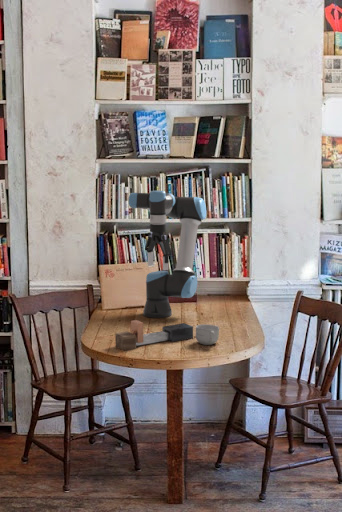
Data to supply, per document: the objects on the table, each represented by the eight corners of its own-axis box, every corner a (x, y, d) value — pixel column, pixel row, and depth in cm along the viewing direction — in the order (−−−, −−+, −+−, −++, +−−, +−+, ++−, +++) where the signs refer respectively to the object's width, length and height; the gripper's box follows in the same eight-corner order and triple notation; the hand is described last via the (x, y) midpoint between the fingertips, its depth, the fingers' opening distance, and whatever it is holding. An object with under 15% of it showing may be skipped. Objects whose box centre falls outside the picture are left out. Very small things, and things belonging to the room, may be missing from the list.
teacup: (194, 340, 344) (194, 323, 343) (217, 339, 345) (217, 323, 344) (197, 348, 331) (198, 331, 329) (222, 348, 332) (222, 331, 330)
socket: (115, 346, 335) (115, 333, 334) (127, 344, 338) (126, 331, 337) (124, 350, 328) (124, 337, 327) (135, 348, 331) (135, 335, 330)
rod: (122, 345, 335) (122, 322, 334) (174, 335, 350) (174, 314, 349) (129, 348, 330) (128, 325, 329) (181, 338, 345) (181, 316, 344)
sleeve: (162, 338, 348) (162, 326, 347) (183, 334, 354) (183, 323, 354) (171, 342, 342) (171, 330, 341) (192, 338, 348) (192, 326, 347)
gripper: (137, 221, 358) (138, 264, 362) (165, 226, 338) (165, 272, 341) (150, 220, 362) (151, 263, 366) (178, 225, 342) (178, 270, 345)
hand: (158, 267), depth 353 cm, fingers open, 13 cm apart
